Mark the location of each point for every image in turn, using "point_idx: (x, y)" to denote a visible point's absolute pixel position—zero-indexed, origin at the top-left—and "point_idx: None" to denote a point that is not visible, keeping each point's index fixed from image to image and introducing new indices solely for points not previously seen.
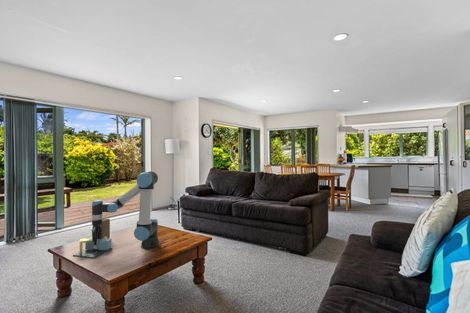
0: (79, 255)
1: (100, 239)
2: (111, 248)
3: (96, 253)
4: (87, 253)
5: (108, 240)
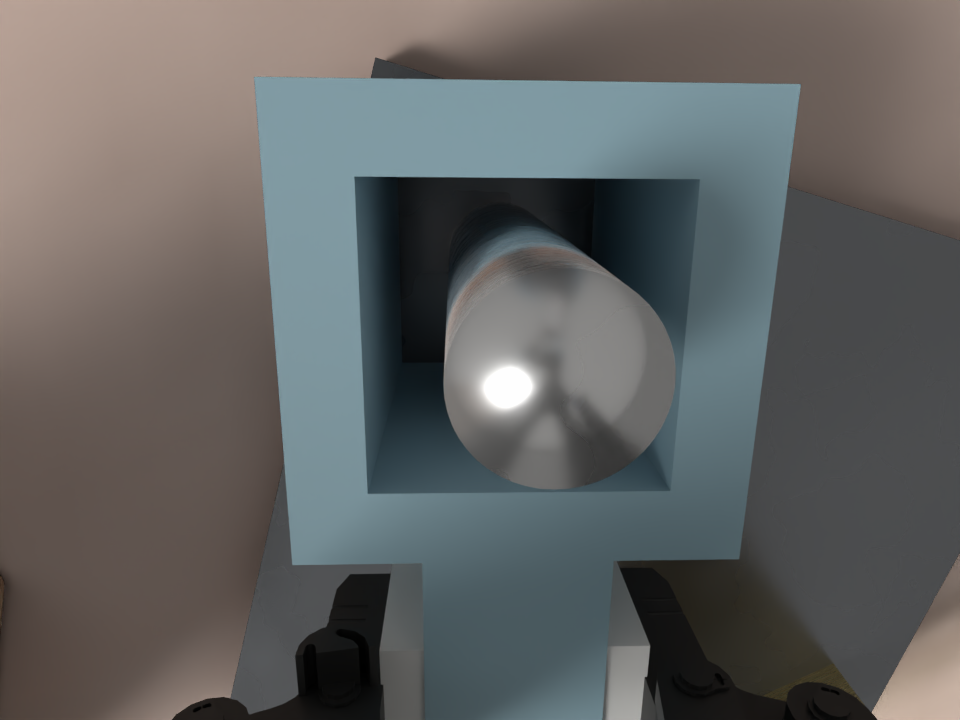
0: (880, 693)
1: (457, 605)
2: (428, 75)
3: (830, 359)
4: (783, 586)
5: (643, 104)
